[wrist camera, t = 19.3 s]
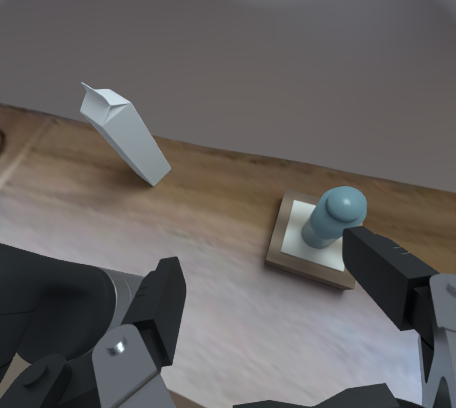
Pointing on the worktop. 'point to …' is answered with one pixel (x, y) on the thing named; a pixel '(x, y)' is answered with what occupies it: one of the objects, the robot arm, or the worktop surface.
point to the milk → (125, 133)
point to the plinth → (305, 245)
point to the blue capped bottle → (334, 216)
